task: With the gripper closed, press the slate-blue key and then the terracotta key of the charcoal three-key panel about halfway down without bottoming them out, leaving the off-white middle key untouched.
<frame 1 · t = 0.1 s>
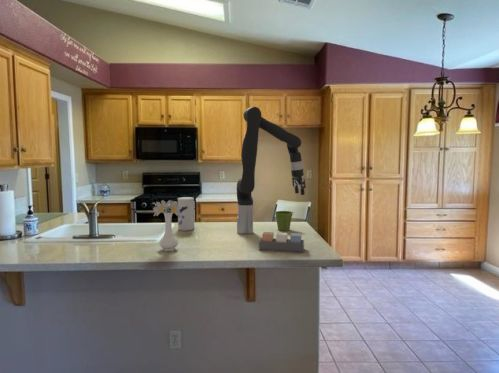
hand: (299, 194, 228), 22 cm above the countertop, tool pointing down, fingers open, 8 cm apart
flower vase: (168, 249, 182), on the countertop
key panel: (281, 249, 181), on the countertop
white key: (281, 238, 181), point 6 cm above the countertop, slide at 0.0 cm
terracotta key: (268, 237, 182), point 6 cm above the countertop, slide at 0.0 cm
slate key: (295, 238, 179), point 6 cm above the countertop, slide at 0.0 cm
plant pot: (283, 230, 227), on the countertop
container: (186, 229, 229), on the countertop
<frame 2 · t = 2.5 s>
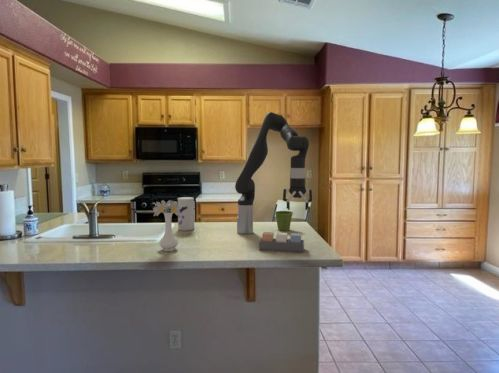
hand: (297, 209, 179), 20 cm above the countertop, tool pointing down, fingers open, 8 cm apart
nothing on the countertop moved.
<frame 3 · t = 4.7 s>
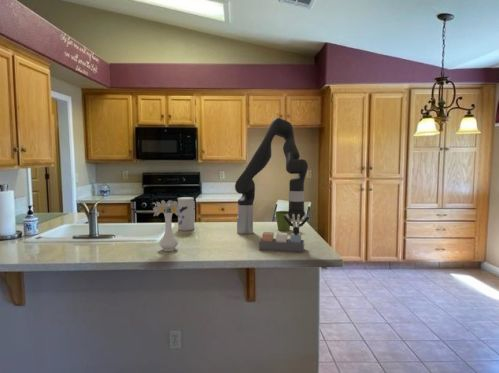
hand: (296, 234, 179), 8 cm above the countertop, tool pointing down, fingers closed
slate key: (295, 238, 179), point 6 cm above the countertop, slide at 0.0 cm, touching gripper
everything else where it was.
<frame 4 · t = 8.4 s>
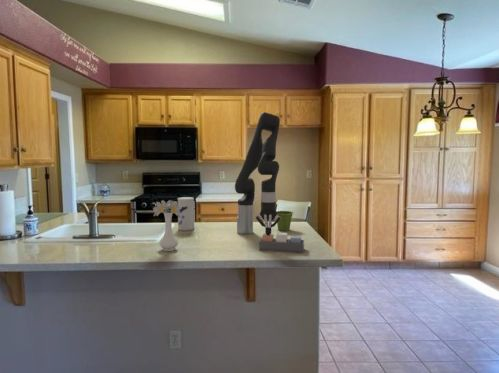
hand: (268, 234, 182), 7 cm above the countertop, tool pointing down, fingers closed
terracotta key: (268, 239, 182), point 5 cm above the countertop, slide at 0.8 cm, touching gripper
slate key: (295, 241, 180), point 4 cm above the countertop, slide at 1.3 cm
everything else where it was.
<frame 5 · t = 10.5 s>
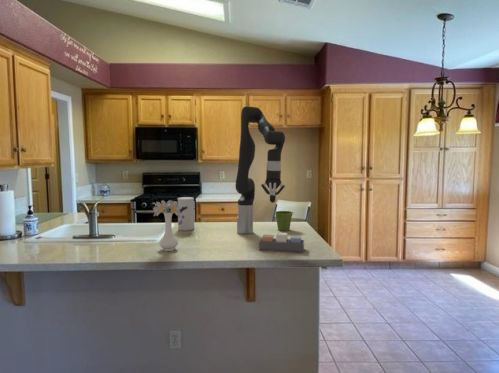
hand: (272, 202, 191), 22 cm above the countertop, tool pointing down, fingers closed
terracotta key: (268, 240, 182), point 4 cm above the countertop, slide at 1.3 cm
everything else where it was.
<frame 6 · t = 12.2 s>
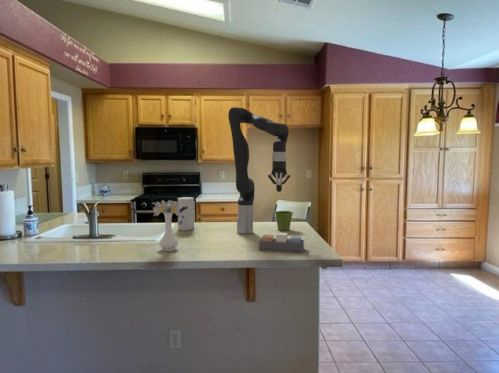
hand: (279, 191, 199), 27 cm above the countertop, tool pointing down, fingers closed
nothing on the countertop moved.
at the end: slate key slide at 1.3 cm; terracotta key slide at 1.3 cm; white key slide at 0.0 cm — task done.
